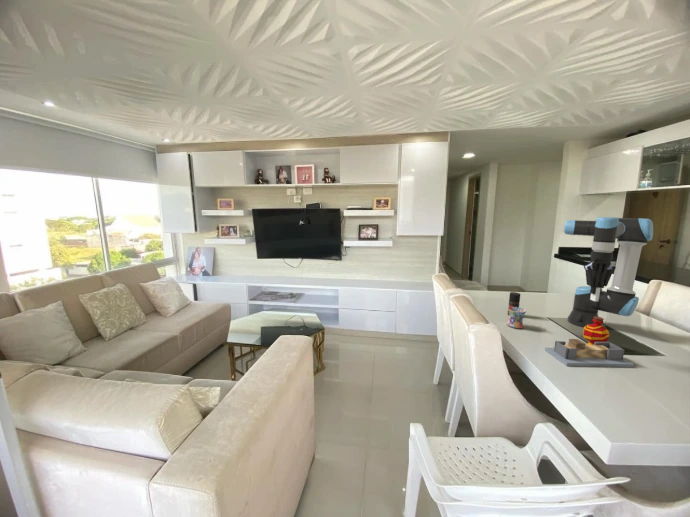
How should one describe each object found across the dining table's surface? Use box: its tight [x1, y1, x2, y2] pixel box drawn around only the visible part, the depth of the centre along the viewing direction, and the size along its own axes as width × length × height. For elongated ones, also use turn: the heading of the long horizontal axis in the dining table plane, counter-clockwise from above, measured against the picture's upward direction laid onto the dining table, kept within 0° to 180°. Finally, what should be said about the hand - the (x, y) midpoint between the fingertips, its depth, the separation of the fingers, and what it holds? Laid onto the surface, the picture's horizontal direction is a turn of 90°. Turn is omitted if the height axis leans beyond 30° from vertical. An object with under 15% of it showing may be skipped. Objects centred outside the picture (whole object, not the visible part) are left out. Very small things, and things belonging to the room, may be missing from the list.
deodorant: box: [507, 291, 521, 316], centre depth 182 cm, size 6×6×15 cm
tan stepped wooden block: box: [564, 338, 608, 358], centre depth 129 cm, size 18×4×7 cm, turn 89°
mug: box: [506, 307, 527, 329], centre depth 165 cm, size 12×9×11 cm
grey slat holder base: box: [544, 340, 634, 368], centre depth 129 cm, size 29×14×6 cm, turn 89°
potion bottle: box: [582, 316, 610, 345], centre depth 141 cm, size 10×10×15 cm
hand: (594, 300), depth 131 cm, fingers closed
